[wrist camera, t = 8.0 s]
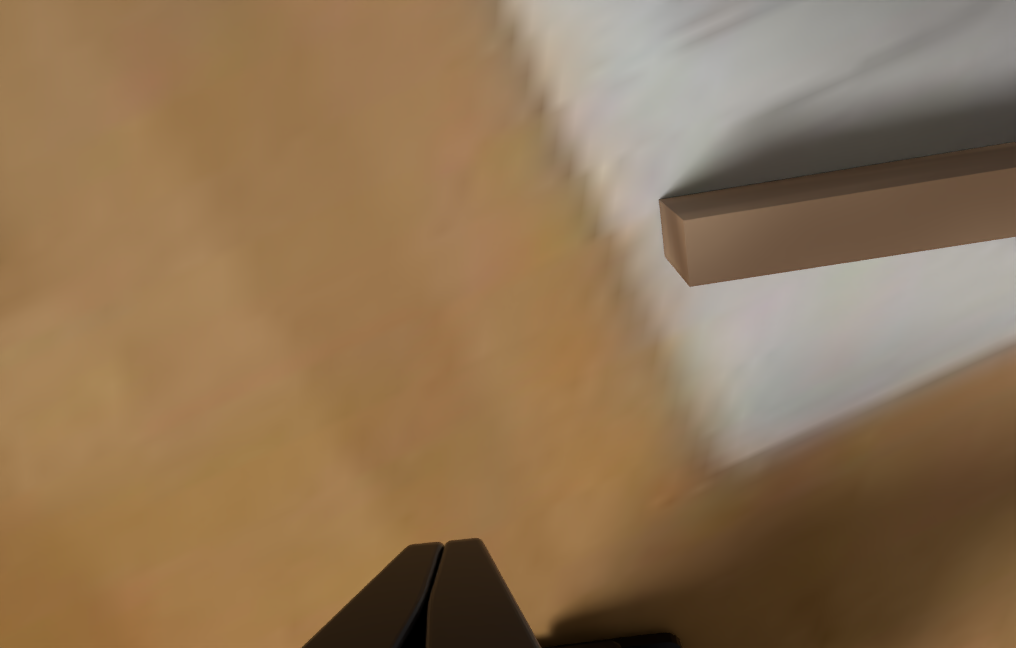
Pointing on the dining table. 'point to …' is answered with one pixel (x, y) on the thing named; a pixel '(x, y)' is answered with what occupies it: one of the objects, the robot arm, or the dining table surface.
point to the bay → (842, 215)
